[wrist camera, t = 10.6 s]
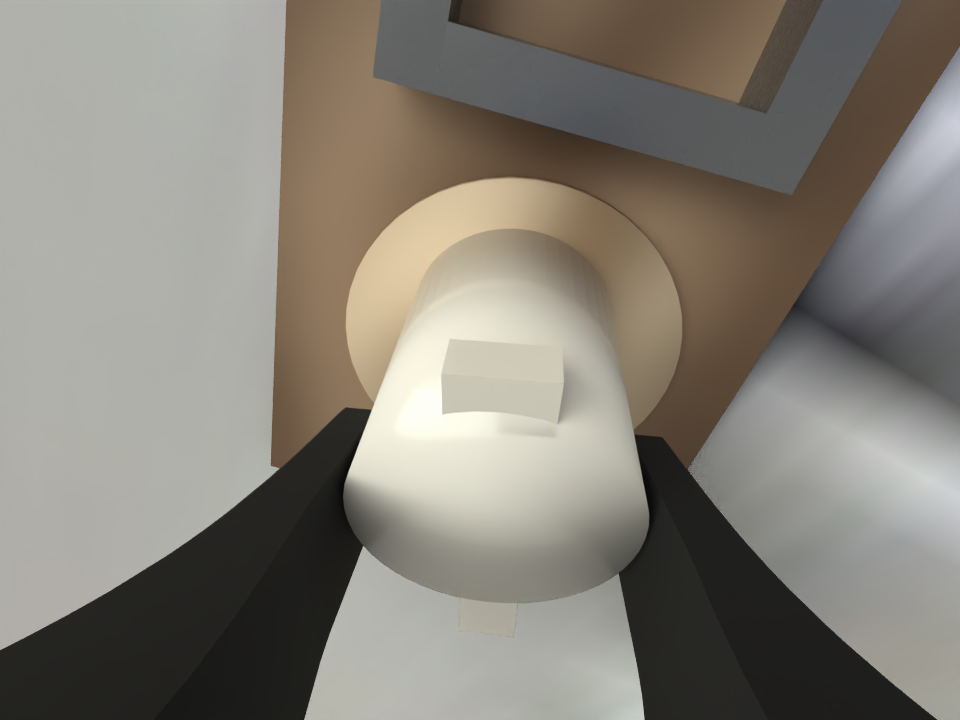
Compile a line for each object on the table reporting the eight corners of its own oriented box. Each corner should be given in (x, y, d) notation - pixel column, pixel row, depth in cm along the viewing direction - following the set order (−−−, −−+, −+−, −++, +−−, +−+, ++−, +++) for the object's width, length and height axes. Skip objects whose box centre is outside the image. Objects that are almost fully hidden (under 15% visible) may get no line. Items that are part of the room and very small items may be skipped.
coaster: (745, 233, 12) (749, 237, 12) (605, 491, 17) (606, 498, 17) (370, 130, 12) (366, 132, 12) (334, 425, 17) (331, 431, 17)
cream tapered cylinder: (408, 196, 12) (314, 363, 7) (632, 209, 12) (698, 394, 7) (423, 473, 18) (377, 673, 13) (575, 487, 17) (587, 696, 12)
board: (1416, -721, 6) (1494, -786, 6) (631, 538, 19) (634, 552, 19) (348, -1162, 6) (329, -1277, 5) (278, 453, 19) (270, 465, 18)
